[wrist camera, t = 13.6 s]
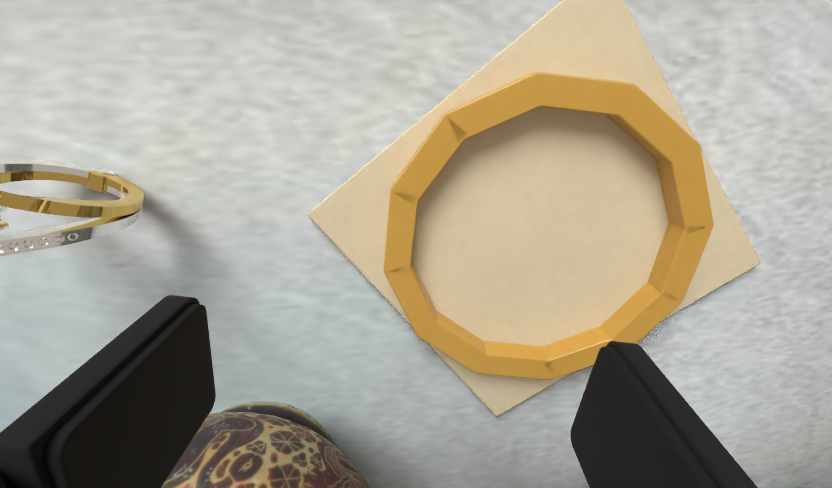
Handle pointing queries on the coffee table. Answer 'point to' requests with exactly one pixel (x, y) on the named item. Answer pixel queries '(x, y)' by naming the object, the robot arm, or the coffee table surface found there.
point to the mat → (537, 203)
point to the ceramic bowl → (262, 452)
